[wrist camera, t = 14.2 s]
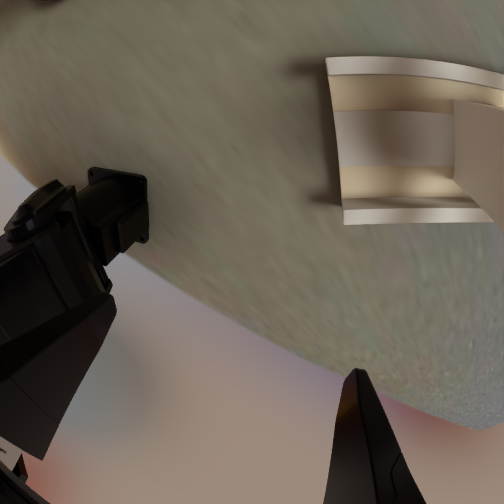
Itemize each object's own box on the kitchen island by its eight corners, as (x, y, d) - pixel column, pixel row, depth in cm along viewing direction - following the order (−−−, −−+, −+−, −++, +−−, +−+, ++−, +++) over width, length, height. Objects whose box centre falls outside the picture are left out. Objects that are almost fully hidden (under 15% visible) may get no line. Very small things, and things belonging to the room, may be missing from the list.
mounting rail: (341, 206, 19) (343, 224, 17) (324, 62, 14) (325, 57, 12) (545, 208, 13) (562, 223, 11) (553, 96, 8) (573, 102, 6)
